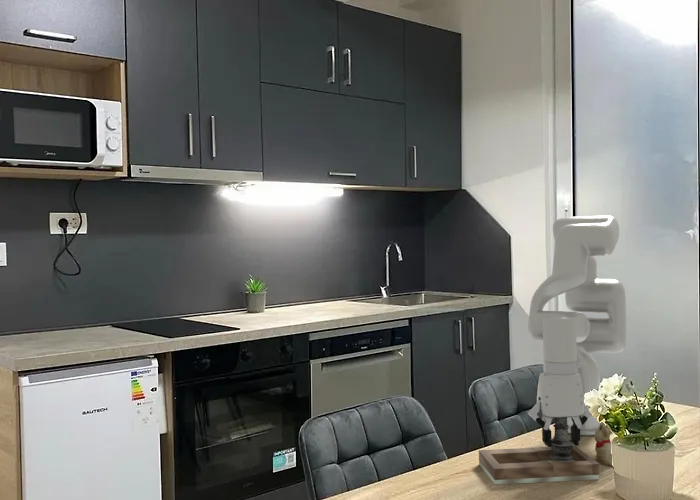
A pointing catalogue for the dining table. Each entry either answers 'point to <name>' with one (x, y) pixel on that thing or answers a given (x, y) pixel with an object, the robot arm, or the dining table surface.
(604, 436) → the chocolate bunny
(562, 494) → the dining table surface
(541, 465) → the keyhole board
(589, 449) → the dining table surface
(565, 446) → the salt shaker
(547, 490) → the dining table surface
